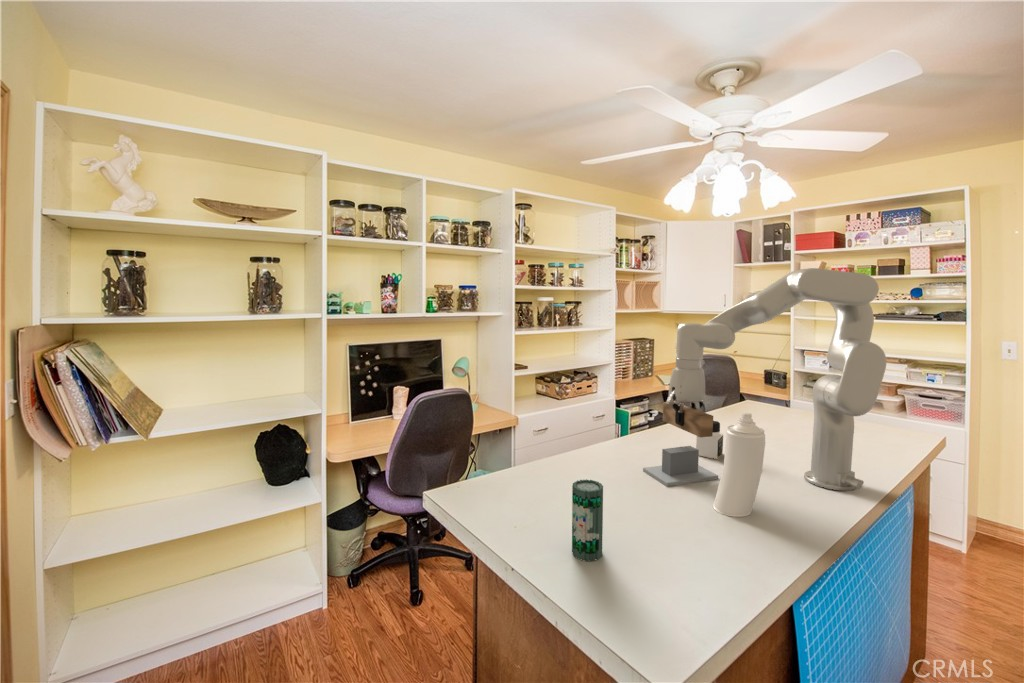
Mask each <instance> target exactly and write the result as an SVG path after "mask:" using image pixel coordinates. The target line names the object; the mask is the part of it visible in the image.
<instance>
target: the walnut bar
mask: <svg viewBox="0 0 1024 683" xmlns="http://www.w3.org/2000/svg"><path fill="white" fill-rule="evenodd" d="M674 403H675V401H674ZM662 404H663V405H662V422H664V423H667V424H669V425H672V426H673V427H676V428H678V429H680V430H682V431H685V432H687V433H689V434H691V435H694V436H698V437H711V436H712V433H713V420H714V415H712V414H710V413H706V412H704V411H702V410H700V411H699V410H696V409H693V408H691V406H687V405H685V404H684V408H683V413H684V425H683V426H680V425H678V424H676V423H675V412H676V411H674V409H673V408H672V407H671V405H669V404H668V403H666V401H663V402H662ZM679 405H680V404H679Z"/></svg>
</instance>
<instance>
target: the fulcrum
mask: <svg viewBox="0 0 1024 683" xmlns="http://www.w3.org/2000/svg"><path fill="white" fill-rule="evenodd" d="M661 451H662V452H661V456H662V457H661V465H657V466H655V465H654V466H648V467H643V468H642V472H644V473H645V474H646V475H649V476H650V477H651V478H653V479H654V480H656V481H658V482H659V483H661V484H662V485H664V486H665V487H671V486H678V485H685V484H691V483H697V482H698V483H700V482H704V481H712V479H713V480H718V479H719V475H718V474H716V473H714V472H713V471H711V470H709V469H707V468H704V467H703V466H701V465H699V457H700V456H699V450H698V449H696V447H694V446H691V445H686V446H685V445H684V446H677V447H675V446H674V447H668V448H662V450H661Z"/></svg>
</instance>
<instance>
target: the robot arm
mask: <svg viewBox="0 0 1024 683" xmlns="http://www.w3.org/2000/svg"><path fill="white" fill-rule="evenodd" d="M879 289H880V288H879V284H878V282H877V280H876V279H875V278H874V277H873V276H871V275H869V274H866V273H861V272H852V271H843V270H833V269H826V268H817V267H808V268H800V269H796V270H793V271H791V272H789V273H787V274H785V275H784V276H782V277H781V278H779V279H777V280H776V281H774V282H773V283H771V284H770V285H768V286H767V287H765V288H763V289H762V290H760V291H759V292H757V293H755V294H754V295H752V296H750V297H749V298H746V299H744V300H743V301H741V302H739V303H737V304H735V305H733V306H732V307H730V308H728V309H726V310H724V311H723V312H721V313H719V314H717V316H714V317H713V318H711V319H710V320H709V321H706V323H704V324H701V323H694V322H692V323H691V322H682V323H680V324H678V326H677V328H676V331H677V332H676V348H675V349H676V352H675V367H674V368H672V370H671V375H670V379H669V384H668V385H669V386H668V397H667V399H666V400H665V402H666V403H668V404H669V405H671V407H672V408H673V409H674V411H676V412H675V423H676V424H678V425H680V426H683V425H684V413H683V408H684V405H685V404H687V403H690V404H689V407H690V408H693V409H696V410H699V411H701V408H702V407H703V406H704V404H706V403H707V402H708V400H709V399H708V397H707V396H706V376H705V369H703V366H704V365H705V364H706V361H705V360H704V348H706V349H707V348H708V349H713V350H725V349H729V348H730V347H732V345H733V344H734V342H735V341H736V334H737V333H738V332H739V331H741V330H744V329H746V328H749V327H752V326H756V325H761V324H764V323H767V322H770V321H772V320H774V319H775V318H777V317H779V316H780V315H781V314H783V313H785V312H786V311H788V310H789V309H791V308H793V307H794V306H796V305H798V304H800V303H801V302H803V301H805V300H813V301H819V302H825V303H829V305H830V306H831V307H832V308H833V310H834V313H835V326H834V330H833V332H832V336H831V339H830V340H831V341H830V344H829V347H828V351H827V354H826V360H827V363H828V365H830V367H832V368H833V369H835V370H837V371H841V375H839V374H827V375H826V374H825V375H822V376H820V377H819V378H818V379H817V380H816V381H815V383H814V384H813V388H812V393H811V394H812V396H811V397H812V403H813V428H812V430H813V431H812V443H811V444H812V446H811V460H810V463H811V464H810V470H807V471H805V472H804V480H805V481H807V482H808V483H810V484H812V485H814V484H815V486H817V487H820V488H823V487H824V489H828V490H832V489H833V490H834V491H842V492H843V491H844V492H845V491H846V492H847V490H848V491H853V490H856V489H857V490H861V489H862V487H863V485H864V480H862V479H860V478H856V472H855V471H853V470H852V463H853V462H852V460H853V450H854V448H853V447H854V434H855V418H854V417H861V416H864V415H866V414H867V413H869V412H870V411H871V410H872V409H873V408H874V406H875V404H876V401H877V399H878V396H879V393H880V389H881V385H882V383H883V380H884V376H885V373H886V369H887V357H886V353H885V351H884V350H883V349H882V348H881V346H879V345H878V344H876V343H874V342H871V337H872V333H873V328H874V321H875V316H874V311H873V309H872V306H871V304H870V303H871V302H873V301H874V300H875V299H876V297H877V296H878V294H879ZM674 402H675V403H674ZM679 404H680V405H679Z"/></svg>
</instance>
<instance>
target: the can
mask: <svg viewBox="0 0 1024 683" xmlns="http://www.w3.org/2000/svg"><path fill="white" fill-rule="evenodd" d="M571 489H572V491H571V492H572V497H571V498H572V501H571V505H572V506H571V510H572V513H571V522H572V523H571V524H572V525H571V527H572V528H571V553H572V552H573V553H572V555H575V556H576V557H577V558H579V559H578V560H580V559H582V560H585V561H586V560H587V561H586V562H588V561H589V560H590V561H589V562H595V561H599V560H600V559H601V558H602V557H603V533H604V532H603V531H604V530H603V528H604V526H603V525H604V524H603V523H604V521H603V520H604V519H603V517H604V516H603V515H604V485H603V484H602V483H601V482H599V481H596V480H593V479H587V478H586V479H579V480H578V479H577V480H576V481H574V482H572V488H571ZM575 556H574V557H575ZM576 557H575V558H576ZM577 558H576V559H577ZM595 559H597V560H595ZM582 560H581V561H582ZM592 560H593V561H592Z"/></svg>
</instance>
